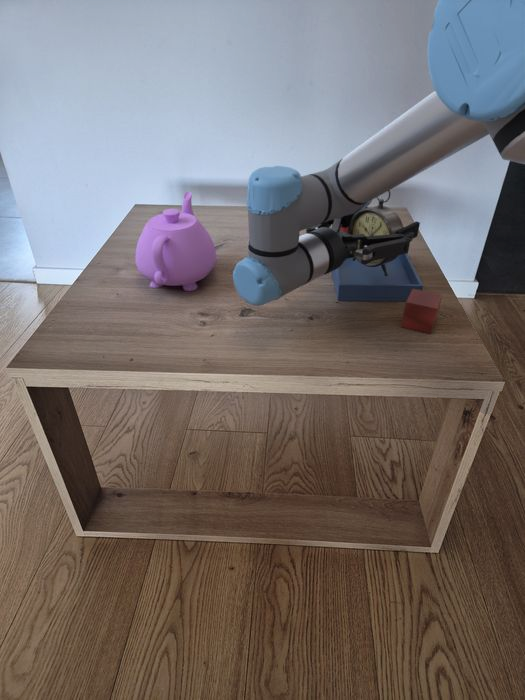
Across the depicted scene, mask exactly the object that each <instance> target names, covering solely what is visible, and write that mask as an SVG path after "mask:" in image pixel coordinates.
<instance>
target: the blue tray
mask: <svg viewBox="0 0 525 700" xmlns="http://www.w3.org/2000/svg"><path fill="white" fill-rule="evenodd" d="M353 258H354V257H353ZM353 258H348V259H346V260H345V261H344V262H343V263H342V265H341V266H340V267H339V268H337V269H335V270H333V271H331V275H332V281H333V285H334V290H335V295H336V300H337V302H406V301H407V299H408V297H409V295H410V293H411V291H412V289H417V290H422V291H424V290H423V289H424V284H423V282H422V280H421V278H420V276H419V275H418V272H417V270H416V268H415V266H414V264H413V262H412V260H411V258H410V256H409V253H407V254H402V255H398V257H397V258H396V259H394V260H393V261H391V262H388V263H385V267H386V271H387V274H388V275H387V276H385V275H384V271H383V270H382V267H381V265H380V266H377V267H368V266H365V265H363V264H362V263H360V262H359V261H358V260H357V259H355V261H353V260H352V259H353Z"/></svg>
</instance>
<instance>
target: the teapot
mask: <svg viewBox="0 0 525 700" xmlns="http://www.w3.org/2000/svg"><path fill="white" fill-rule="evenodd" d="M192 195H193V194H192V191H186V192H185V193H184V195H183V198H182V207H181V210H179V209H178V208H167V209H165V210H163V211H162V213H159V214H157V215H155V216H152V217H151V218H150V219H148V221H147V222H146V223H145V225H144V227H143V229H142V232H141V234H140V236H139V238H138V240H137V243H136V248H135V265H136V268H137V270H138V272H139V273H140V274H141V275H142V276H144V278H146V279H147V280H149V281H150V282H149V283H150V284H149V286H150V288H154V289H159V288H162V287H163V286H175V287H177V286H182V289H183V290H184V291H187V292H191V291H195V290H197V289H198V284H197V283H196V282H198V281H201V280H202V279H204V278H206V277H207V276H208V275H209V274H210V273H211V271H212V270H213V269H214V268H215V266H216V264H217V260H218V255H217V249H216V246H215V243H214V241H213V239H212V237H211V235H210V233H209V231H208V230H207V229H206V227H205V226H204V225H203V223H202V222H201V221H200V220H199V219H198V218H197V217H196V216H195V215H194V214H195V213H194V210H193V205H192V203H193V202H192V199H193V197H192Z"/></svg>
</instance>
